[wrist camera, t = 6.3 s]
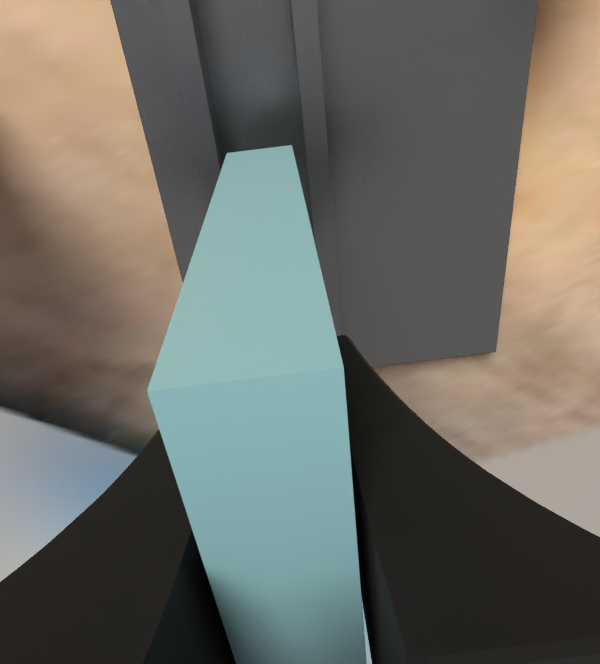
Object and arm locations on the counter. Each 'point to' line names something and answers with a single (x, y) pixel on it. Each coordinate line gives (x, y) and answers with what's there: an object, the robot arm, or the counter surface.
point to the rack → (353, 144)
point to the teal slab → (264, 423)
